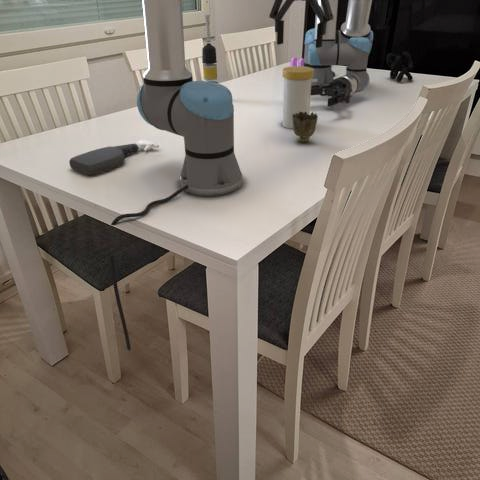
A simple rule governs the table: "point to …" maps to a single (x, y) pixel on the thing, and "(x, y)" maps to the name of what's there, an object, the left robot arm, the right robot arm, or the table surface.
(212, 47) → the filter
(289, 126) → the jar
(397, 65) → the squiggle
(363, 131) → the table surface
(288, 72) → the lid
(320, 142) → the table surface
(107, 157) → the spray bottle
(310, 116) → the cup
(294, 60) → the bracket
